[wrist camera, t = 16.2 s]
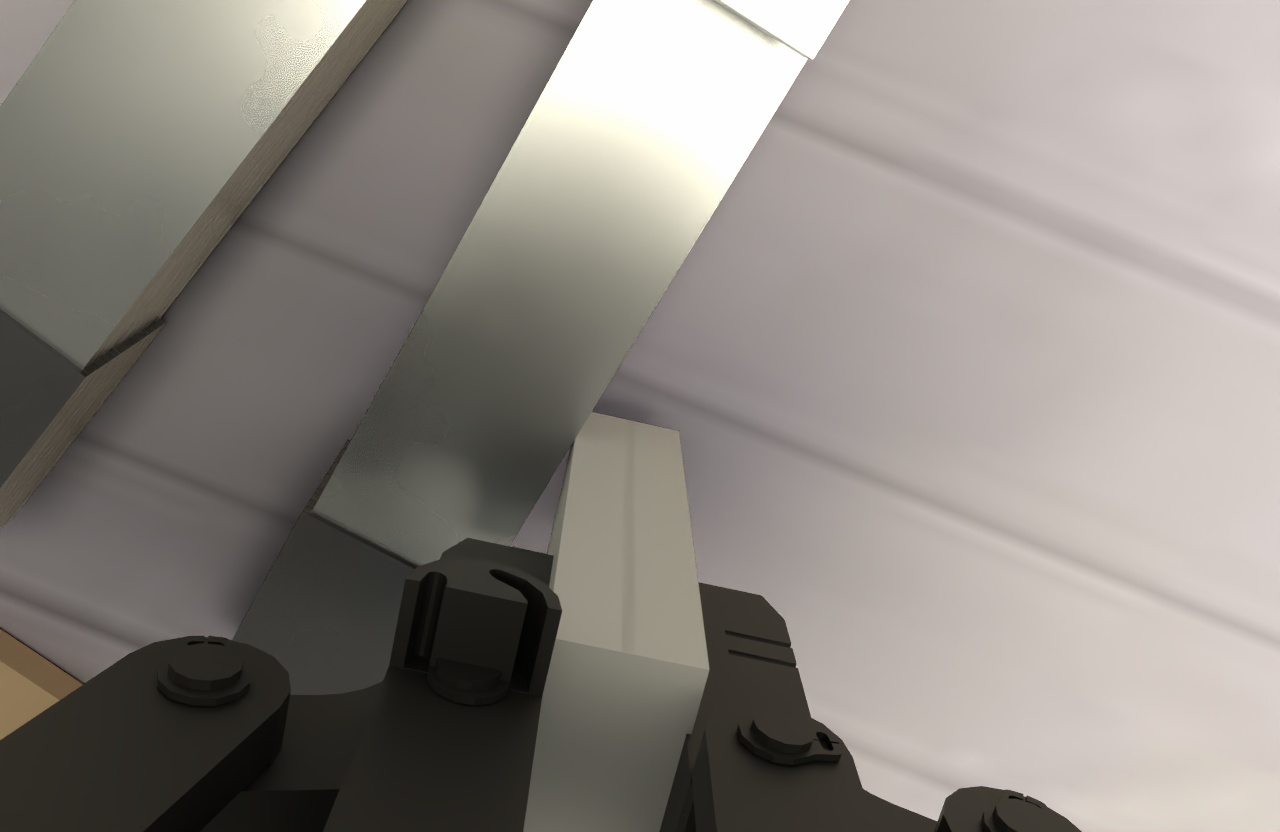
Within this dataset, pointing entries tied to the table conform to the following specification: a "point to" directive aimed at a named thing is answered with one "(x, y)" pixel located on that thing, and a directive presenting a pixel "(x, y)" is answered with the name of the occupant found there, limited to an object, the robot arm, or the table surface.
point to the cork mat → (27, 684)
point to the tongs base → (139, 184)
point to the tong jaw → (531, 313)
